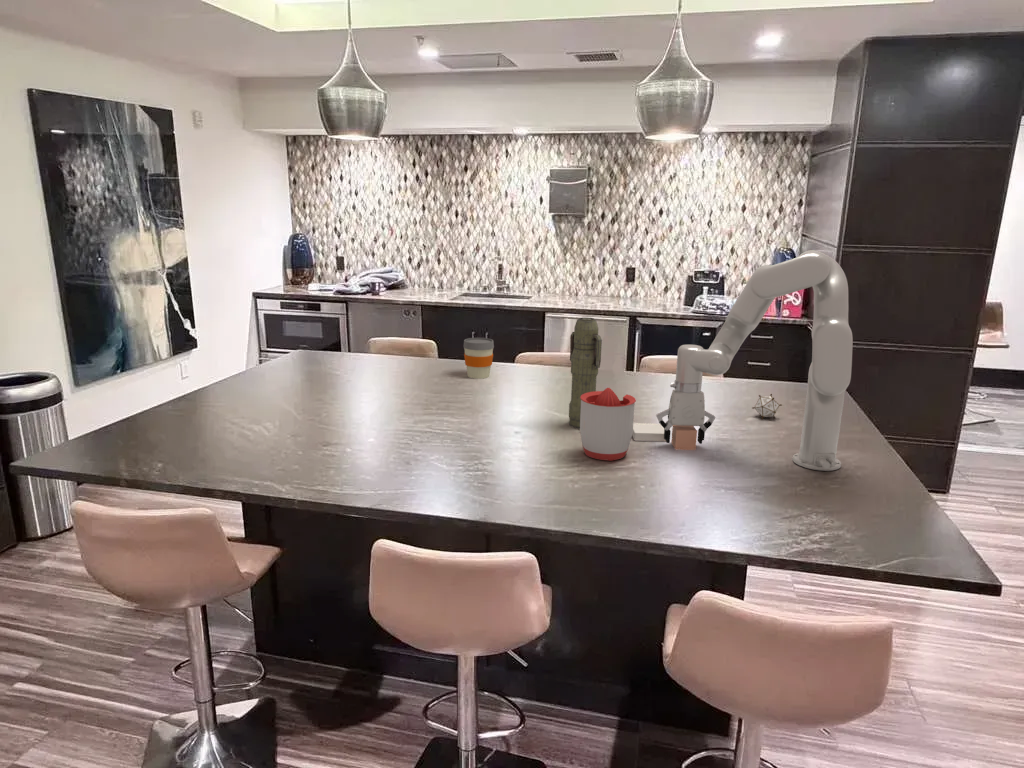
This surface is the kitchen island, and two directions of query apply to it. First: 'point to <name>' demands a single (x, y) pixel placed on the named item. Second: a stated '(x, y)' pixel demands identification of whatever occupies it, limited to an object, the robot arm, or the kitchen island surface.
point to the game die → (766, 406)
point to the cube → (684, 437)
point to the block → (648, 432)
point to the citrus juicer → (606, 424)
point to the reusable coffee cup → (478, 357)
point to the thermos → (583, 364)
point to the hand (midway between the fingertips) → (683, 442)
